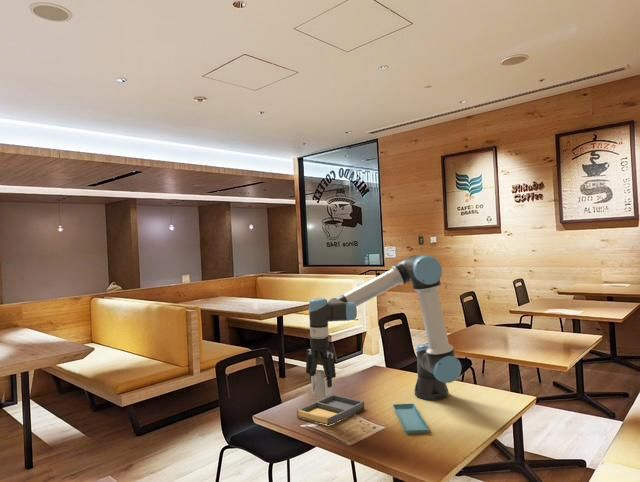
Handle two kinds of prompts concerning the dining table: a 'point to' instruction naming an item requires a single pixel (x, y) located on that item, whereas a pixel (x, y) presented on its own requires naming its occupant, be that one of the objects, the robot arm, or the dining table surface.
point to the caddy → (330, 409)
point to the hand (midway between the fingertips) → (321, 393)
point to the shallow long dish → (411, 419)
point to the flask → (320, 385)
